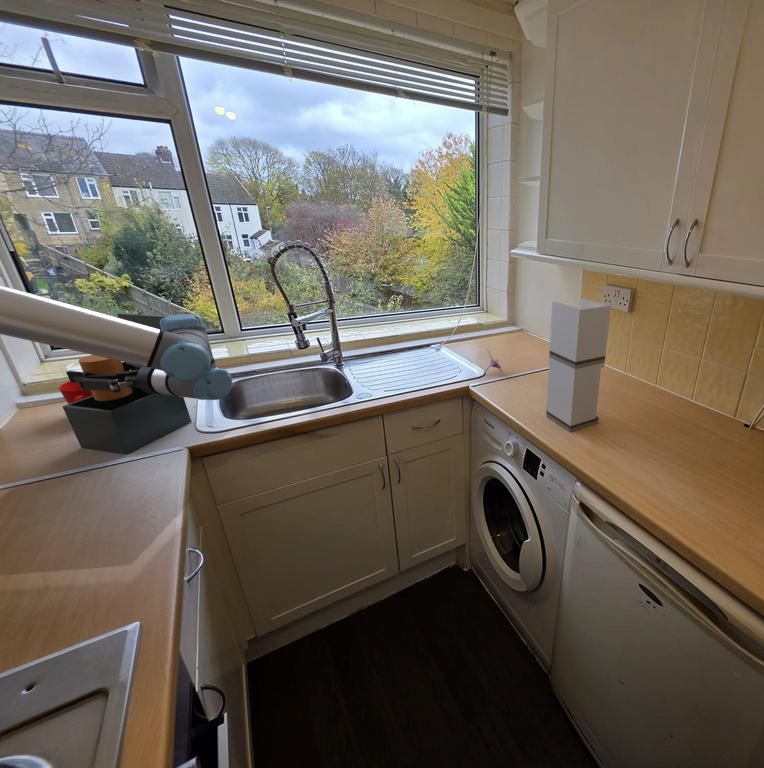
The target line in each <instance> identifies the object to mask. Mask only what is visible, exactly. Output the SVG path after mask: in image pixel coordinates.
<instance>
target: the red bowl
mask: <svg viewBox="0 0 764 768" xmlns="http://www.w3.org/2000/svg"><path fill="white" fill-rule="evenodd" d="M58 388H59V389H58V390H59V391H60V394H61V395H62V397H63V398H64V400H65V402H66V403H67V404H70V403H73V402H76V401H79V400H81V399H84V398H87V397H90V396H93V394H92V392H91V390H82V389H81V387H80V385H79V383H71V382H70V380H69V381H67V382H64V383H63V384H61V385H59V387H58Z"/></svg>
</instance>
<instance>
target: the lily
mask: <svg viewBox="0 0 764 768" xmlns="http://www.w3.org/2000/svg"><path fill="white" fill-rule="evenodd" d="M485 350H486V351H487V352H488V355H489V365H488V367H487V368H486V370H485V372H484V373H483V375H484V376H485V375H486V373H487V371H488V370H489V368H490V367H492V368H496V369H497V370H499V371H500V372H501V373H502V374H503V375H505V373H504V372H503V370H502V369H503V368H502V366H501V364H500V363H499V359H496V360H494V359H493V357H492V354H491V353H490V351H489V349H487V348H485Z"/></svg>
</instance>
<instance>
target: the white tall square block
mask: <svg viewBox="0 0 764 768" xmlns="http://www.w3.org/2000/svg"><path fill="white" fill-rule="evenodd" d="M611 309H612V305H609V304H605V303H603V302H602V303H601V302H597V301H594V300H589V299H586V298H579V304H578V306H573V305H568V304H564V303H562V302H559V301H552V302H551V321H550V337H549V338H550V340H549V341H550V342H549V355H548V357H549V358H548V372H547V373H548V374H547V393H546V394H547V395H546V409H545V410H546V412H545V417H546V418H547V419H548V420H551V421H552V422H554V423H555V424H557V425H558V426H559V427H561V428H563V430H565V431H567V432H569V433H573V432H576V431H580V430H582V429H585V428H589V427H593V426H594V425H597V424H599V416H597V408H598V400H599V393H600V391H599V389H600V381H601V374H602V373H601V372H602V369H603V368H605V364H606V363H605V362H606V353H607V345H608V335H609V326H610V319H611V318H610V317H611Z"/></svg>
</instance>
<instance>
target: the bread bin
mask: <svg viewBox="0 0 764 768" xmlns="http://www.w3.org/2000/svg"><path fill="white" fill-rule="evenodd" d="M131 389H132V393H131V394H129V395H127V396H125V397H122V398H118V399H114V400H108V401H97V400H95V399H94V396H90V397H87V398H84V399H81V400H79V401H76V402H73V403H70V404H68V403H67V404H64V405H62V409H63V411H64V414H65V416H66V418H67V420H68V422H69V424H70V426H71V429H72V431H73V433H74V435H75V438H76V439H77V442H78V444H79V447H80V448H81V449H87V450H95V451H101V452H107V453H108V452H109V453H115V454H122V455H130V454H133V453H134V452H135V451H137V450H139V449H141V448H143V447H145V446H147V445H149V444H151V443H153V442H155V441H157V440H159V439H161V438H163V437H165V436H167V435H169V434H172V433H173V432H175V431H177V430H179V429H181V428H183V427H185V426H187V425H189V424H190V423H189V422H191V423H192V418H191V414H190V412H189V409H188V406H187V403H186V400H185V397H179V396H171V395H160V394H151V393H147V392H145V391H143V390H141V389H140V388H138V387H131ZM188 423H189V424H188ZM186 424H187V425H186ZM182 426H183V427H182Z"/></svg>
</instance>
